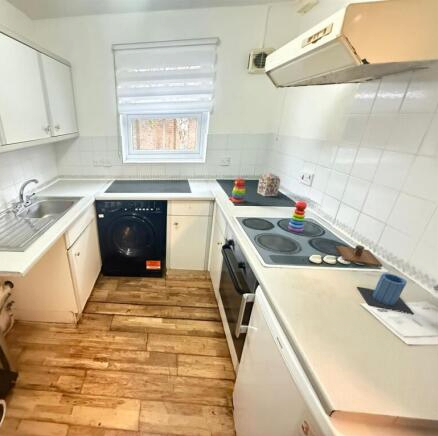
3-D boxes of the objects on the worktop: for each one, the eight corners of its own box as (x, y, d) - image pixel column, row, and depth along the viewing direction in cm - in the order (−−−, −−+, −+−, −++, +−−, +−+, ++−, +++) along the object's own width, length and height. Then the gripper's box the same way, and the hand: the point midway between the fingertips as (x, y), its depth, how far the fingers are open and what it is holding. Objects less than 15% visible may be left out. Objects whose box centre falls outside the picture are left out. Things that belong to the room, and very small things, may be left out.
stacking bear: (227, 198, 190) (231, 176, 183) (239, 198, 191) (243, 176, 184) (234, 203, 180) (237, 180, 173) (246, 202, 181) (250, 179, 174)
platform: (366, 255, 112) (371, 242, 109) (379, 270, 100) (386, 256, 98) (333, 250, 116) (338, 237, 113) (343, 264, 105) (348, 251, 102)
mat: (396, 295, 87) (397, 294, 87) (413, 314, 78) (414, 313, 78) (356, 287, 91) (357, 286, 90) (368, 305, 82) (368, 304, 82)
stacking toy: (286, 228, 139) (294, 198, 132) (302, 231, 135) (311, 200, 128) (285, 233, 133) (293, 202, 125) (302, 237, 129) (311, 204, 122)
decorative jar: (277, 196, 196) (282, 174, 189) (264, 196, 194) (268, 175, 187) (268, 192, 207) (273, 171, 200) (256, 192, 205) (260, 172, 198)
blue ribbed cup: (389, 295, 86) (400, 275, 82) (399, 307, 80) (410, 286, 77) (369, 291, 88) (378, 271, 84) (377, 303, 82) (387, 282, 79)
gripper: (519, 348, 61) (438, 321, 69) (491, 304, 75) (427, 286, 83) (535, 331, 58) (449, 304, 67) (503, 288, 72) (436, 271, 81)
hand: (437, 293), depth 75 cm, fingers open, 8 cm apart
